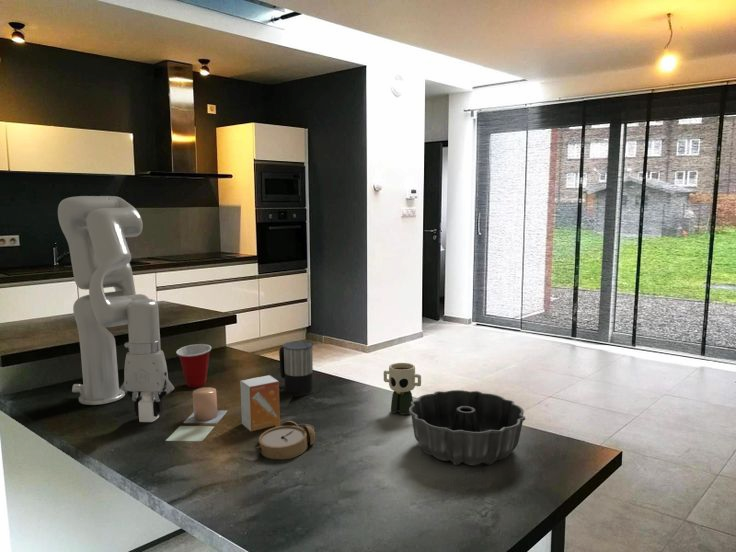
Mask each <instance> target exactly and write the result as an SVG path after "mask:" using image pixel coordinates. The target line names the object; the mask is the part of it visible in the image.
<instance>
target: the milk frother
mask: <svg viewBox="0 0 736 552" xmlns="http://www.w3.org/2000/svg"><path fill="white" fill-rule="evenodd" d="M313 346H314V344H313V343H312V342H310V341H304V340H303V341H301V340H296V341H289V342H285V343H284V344H283V345H282V346H281V347H280V348H279V350H278V351H279V352H278V356H279V357H278V358H279V369H280V377H281V378H282V379H284V387H282V386H280V385H279V393H280V389H282V390H283V392H284V393H293V394H292V396H293V397H303V396H308V395H312V394H313V393H314V391H315V388H314V378H313V377H314V375H313V371H314V370H313V369H314V367H313V366H314V364H313V362H314V361H313V359H314V358H313V353H314V352H313Z"/></svg>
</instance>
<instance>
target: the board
mask: <svg viewBox="0 0 736 552" xmlns="http://www.w3.org/2000/svg"><path fill="white" fill-rule="evenodd" d="M217 413H218V416H217V417H216V418H214V419H212V420H207V421H198V420H195V419H194V411H193V412H192V413H191V414H190V415H189V416H188V417H187V418H186V419H185V420H184V421H183V422H182V423H183V424H218V423H219V422H220V421H221V419H222V418H223V417H224V416H225V415H226V413H228V410H218V409H217ZM214 428H215V426H213V425H212V426H210V425H208V426H207V425H206V426H205V425H179V426H178V427H177V428H176V429H175V430H174V431H173V432H172V434H171V435H169V437H168V438H166V439H165V442H203V441H204V440H205V439H206V437H207V436H208V435H209V434H210V433H211V432H212V430H213V429H214Z"/></svg>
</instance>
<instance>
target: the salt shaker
mask: <svg viewBox="0 0 736 552" xmlns="http://www.w3.org/2000/svg"><path fill="white" fill-rule="evenodd" d="M141 398H142V399H141V400H140V401H139V402H138V409H139V416H138V419H139V423H153V422H155V421H156V420H157V419H159V417H160V414H159V415H158V416H157V417H155V416H154V409H153V402H155V398H154V394H153V392H141Z"/></svg>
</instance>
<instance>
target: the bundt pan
mask: <svg viewBox="0 0 736 552" xmlns="http://www.w3.org/2000/svg"><path fill="white" fill-rule="evenodd" d="M524 412H525V411H524V409H523V407H522V406H519V404H516V403H515V401H514V400H511V399H506V398H504V397H502V396H500V395H498V394H493V393H487V392H486V393H485V392H481V391H479V390H474V391H473V390H472V391H471V390H463V389H460V390H459V389H454V390H453V389H452V390H446V391H442V390H441V391H440V390H439V391H437V390H436V391H434V392H433V393H425V394H423V395H420V396H419V397H418V398H417V399H416V400H413V401H412V402H411V407H410V408H409V414H410V416H411V422H412V427H413V428H412V429H413V435H414V438H415V440H416V441H417V443H418V444H419V446H420V448H421V450H422V451H423V452H424V453H426V454H427V455H430V456H433V457H435V459H438V460H439V461H444V462H445V461H447V462H448V461H450V462H452V464H454V465H459V464H462V463H463V464H466V465H467V466H468V465H469V466H478V465H480V464H481V463H483V464H485V465H492V464H494V462H495V461H500V460H503V459H505V458H507V457H508V456H509V455H510V453H511V452H513V451H514V450H515V449H516V448H517V446H518V444H519V441H520V436H521V431H522V427H523V422H524V421H526V416H524Z"/></svg>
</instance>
